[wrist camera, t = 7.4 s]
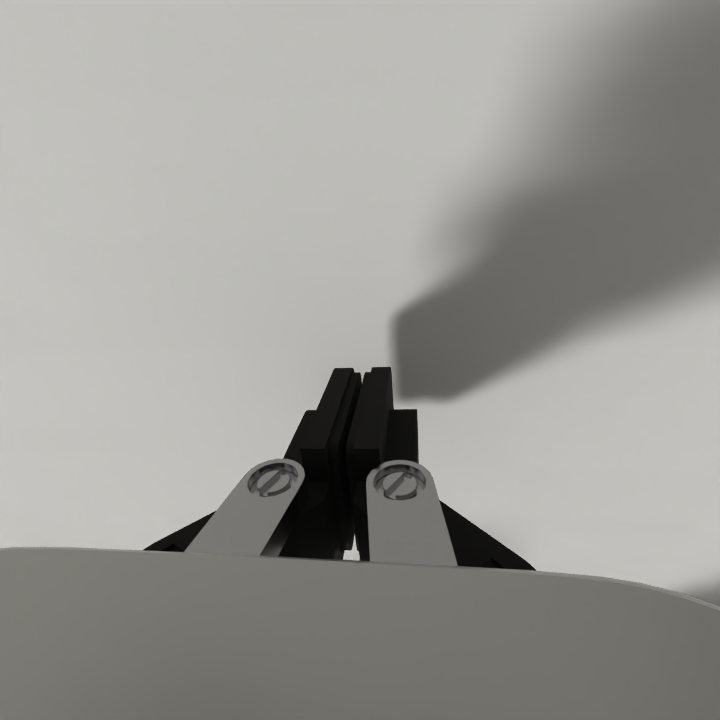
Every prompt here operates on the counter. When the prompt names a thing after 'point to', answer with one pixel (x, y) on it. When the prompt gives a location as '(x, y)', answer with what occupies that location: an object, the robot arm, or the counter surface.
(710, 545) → the counter surface
